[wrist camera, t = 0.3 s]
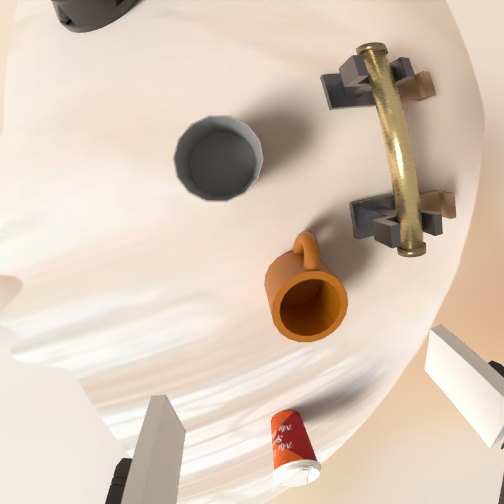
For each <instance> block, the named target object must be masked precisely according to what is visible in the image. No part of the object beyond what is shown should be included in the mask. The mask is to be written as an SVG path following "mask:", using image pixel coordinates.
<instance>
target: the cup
mask: <svg viewBox="0 0 504 504" xmlns="http://www.w3.org/2000/svg"><path fill="white" fill-rule="evenodd" d="M263 160H264V159H263V154H262V149H261V143H260V140H259V138H258V137H257V136H256V134H255V133H254V132H253V131H252V129H251V128H250V127H249V125H248V124H246V123H244V122H242V121H240V120H238V119H236V118H234V117H231V116H207V117H205V118H203V119H201V120H199V121H196V122H194V123H192V124H191V125H190V126H189V127H188V128H187V129H186V130H185V132H184V133H183V134H182V135H181V136H180V137H179V139H178V141H177V145H176V149H175V152H174V156H173V161H174V166H175V172H176V177H177V179H178V180H179V181H180V182H181V184H182V185H183V186H184V188H185V189H186V190H187V192H188V193H190V194H192V195H194V196H196V197H198V198H200V199H202V200H204V201H206V202H228V201H230V200H232V199H235V198H237V197H239V196H241V195H244V194H245V193H246V192H247V191H248V190H249V189H250V188H251V186H252V185H253V184H254V183H255V182H256V181H257V180H258V178H259V174H260V171H261V167H262V163H263Z"/></svg>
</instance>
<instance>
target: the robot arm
mask: <svg viewBox="0 0 504 504" xmlns="http://www.w3.org/2000/svg"><path fill="white" fill-rule="evenodd" d="M51 1H52V2H53V5H54V8H55V11H56V14H57V17H58V19H59V21H60V23H61V24H62V25H63V26H64V27H66V28H67V29H68V30H70V31H72V32H77V33H82V32H89V31H93V30H96V29H98V28H101V27H103V26H105V25H107V24H109V23H111V22H112V21H114V20H116V19H117V18H119V17H120V16H121V15H123V14H124V13H125V12H126V11H127V10H129V9H130V8H131V7H132V6H133V5H134V3H135V2H136V1H137V0H51ZM425 371H426V372H427V373H428V374H429V375H430V377H431V378H432V379H433V380H434V381H435V382H436V383H437V385H438V386H439V387H440V388H441V389H442V391H443V392H444V393H445V394H446V395H447V396H448V398H449V399H450V400H451V401H452V402H453V403H454V405H455V406H456V407H457V408H458V409H459V411H460V412H461V413H462V414H463V415H464V417H465V418H466V419H467V420H468V421H469V423H470V424H471V425H472V426H473V428H474V429H475V430H476V431H477V433H478V434H479V435H480V436H481V438H482V439H483V440H484V442H485V443H486V444H487V445H488V447H489V448H491V447H492V446H493V445H494V444H496V443H497V442H498V441H500V440H501V439H502V437H503V436H504V367H503V366H502V365H501V364H499V363H497V362H494V361H491V362H489V363H487V362H486V361H484V360H483V359H482V358H481V357H480V356H479V355H478V354H476V353H475V352H474V351H473V350H472V349H470V348H469V347H468V346H467V345H466V344H465V343H463V342H462V341H461V340H460V339H459V338H458V337H456V336H455V335H454V334H453V333H451V332H450V331H449V330H448V329H447V328H445V327H444V326H443V325H442V324H441V325H439V326H436V327H434V328H432V329H430V336H429V344H428V351H427V357H426V363H425ZM185 432H186V430H185V428H184V427H183V425H182V423H181V421H180V420H179V418H178V416H177V414H176V413H175V411H174V409H173V407H172V405H171V403H170V402H169V400H168V398H167V396H166V395H159V396H151V399H150V402H149V406H148V409H147V412H146V415H145V419H144V422H143V425H142V428H141V432H140V435H139V439H138V442H137V445H136V449H135V452H134V456H133V459H130V458H129V459H128V458H123V459H122V460H121V461H120V462H119V464H118V465H117V466H116V469H115V472H114V478H113V479H112V482H111V484H112V485H110V489H109V492H108V495H107V499H106V503H105V504H176V502H177V493H178V485H179V477H180V469H181V461H182V454H183V446H184V439H185ZM503 448H504V443H503V444H502V447H501V449H503ZM498 504H504V476H503V482H502V488H501V493H500V498H499V503H498Z"/></svg>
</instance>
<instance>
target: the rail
mask: <svg viewBox="0 0 504 504" xmlns="http://www.w3.org/2000/svg"><path fill="white" fill-rule="evenodd" d="M356 52H357V55H363V58H364V61H365V64H366V67H367V70H368V73H369V76H368V80H369V83H370V87H371V90H372V94H373V97H374V101H375V104H376V108H377V112H378V116H379V120H380V124H381V128H382V133H383V137H384V142H385V147H386V152H387V157H388V162H389V167H390V173H391V179H392V186H393V192H394V200H395V207H396V216H397V223H399V225H400V235H401V246H399V247H397V253H398V255H400V256H403V257H417V256H421V255H423V254H425V253H426V243H425V242H423V227H422V215H421V205H420V196H419V188H418V181H417V174H416V168H415V162H414V156H413V151H412V145H411V141H410V136H409V131H408V127H407V122H406V118H405V114H404V110H403V106H402V103H401V99H400V95H399V92H398V88H397V85H396V82H395V79H394V76H393V72H392V69H391V66H390V63H389V61H388V58H387V54H388V51H387V48H386V45H385V44H383V43H367V44H364V45H361V46H359V47H358V48H357V49H356Z"/></svg>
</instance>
